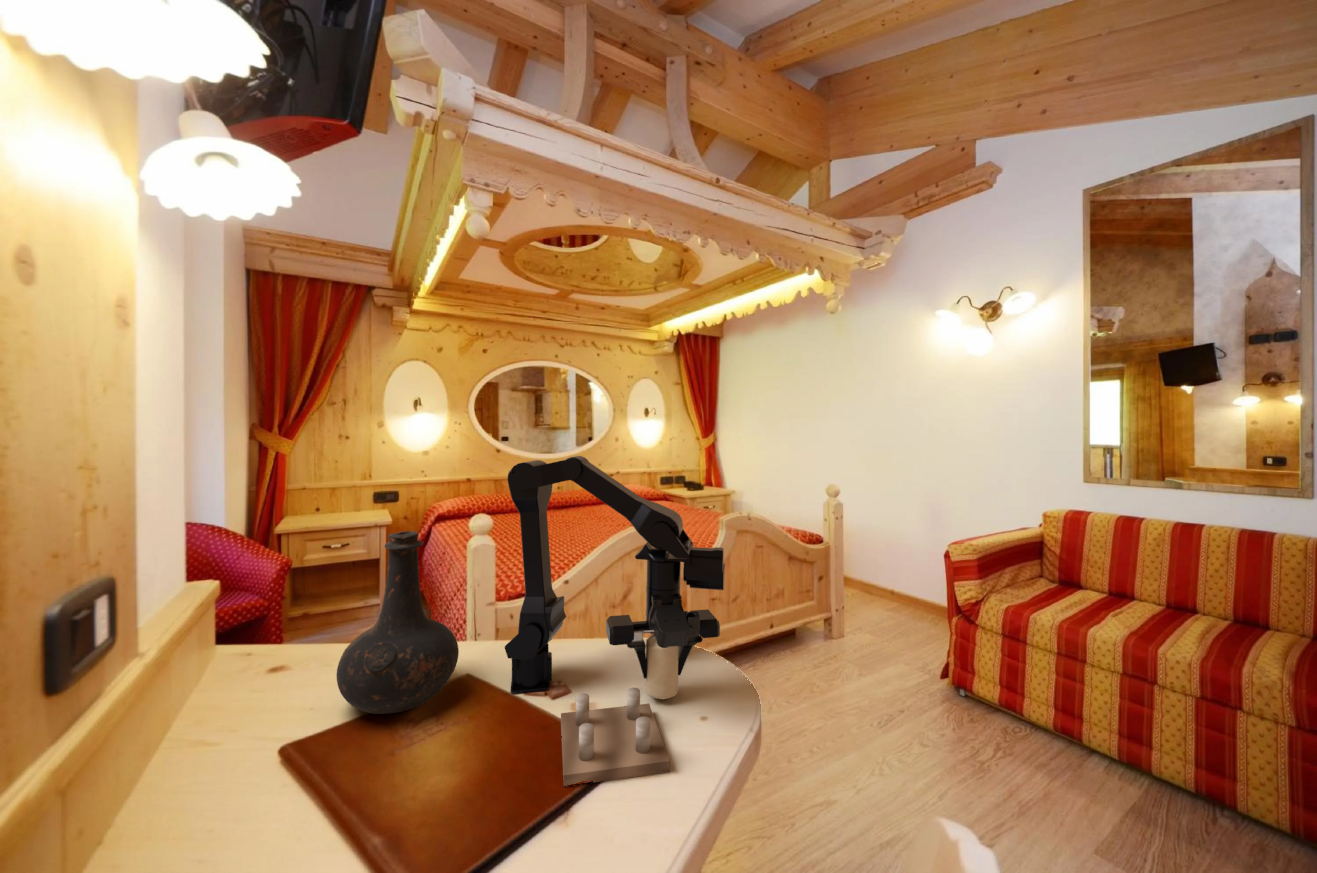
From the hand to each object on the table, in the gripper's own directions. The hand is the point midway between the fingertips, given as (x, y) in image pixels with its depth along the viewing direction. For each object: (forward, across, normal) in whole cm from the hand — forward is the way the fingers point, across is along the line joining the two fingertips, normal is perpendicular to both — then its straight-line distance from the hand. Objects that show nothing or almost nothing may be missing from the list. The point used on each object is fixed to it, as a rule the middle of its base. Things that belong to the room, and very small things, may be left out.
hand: (661, 675), depth 86 cm
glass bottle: (+4, -43, +8) cm, 44 cm away
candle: (+3, 0, 0) cm, 3 cm away
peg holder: (+4, -10, -11) cm, 15 cm away
